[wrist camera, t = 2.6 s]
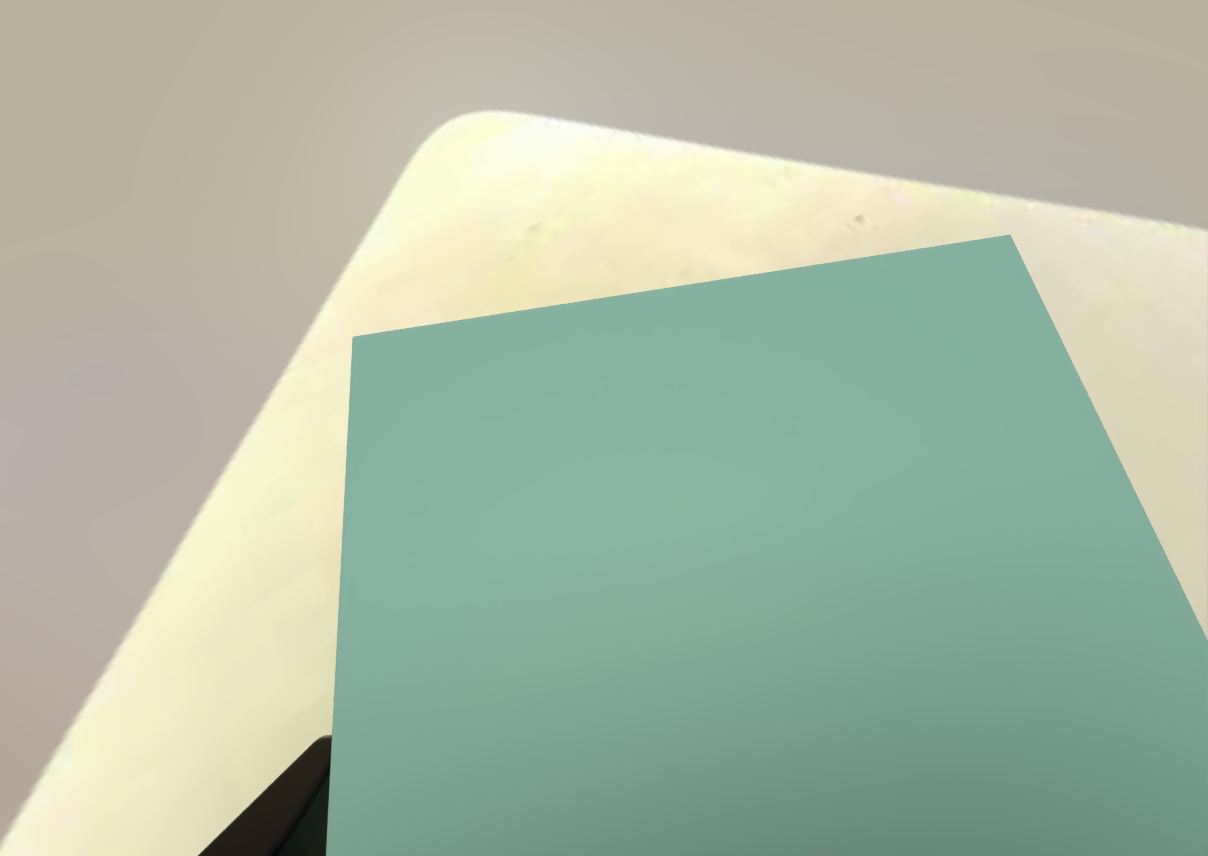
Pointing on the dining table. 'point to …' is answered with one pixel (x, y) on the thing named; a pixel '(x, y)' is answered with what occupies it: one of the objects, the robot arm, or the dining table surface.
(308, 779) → the robot arm
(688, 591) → the tall teal block
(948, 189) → the dining table surface
